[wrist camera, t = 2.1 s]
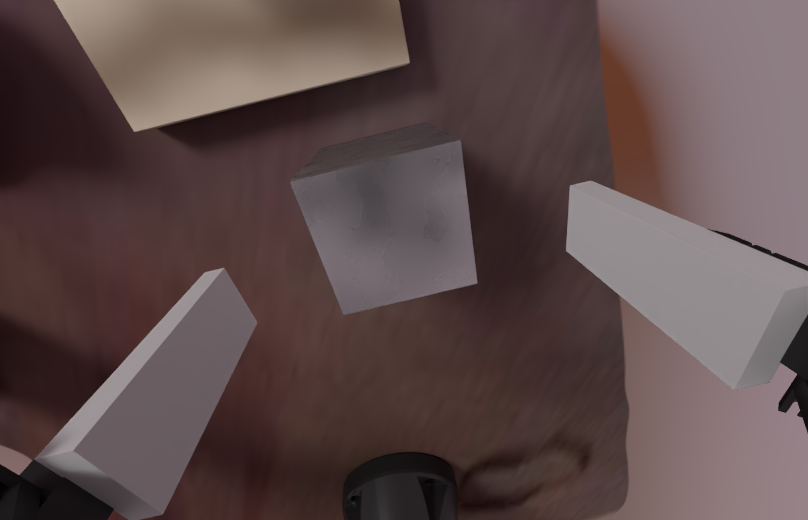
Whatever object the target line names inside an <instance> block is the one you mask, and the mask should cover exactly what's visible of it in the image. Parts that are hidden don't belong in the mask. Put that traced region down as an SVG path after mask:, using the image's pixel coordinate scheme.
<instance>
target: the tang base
mask: <svg viewBox="0 0 808 520" xmlns="http://www.w3.org/2000/svg"><path fill="white" fill-rule="evenodd" d="M54 1H55V3H56V4H57V6H58V8H59V9H60V11H61V12H62V14H63V16H64V17H65V19H66V21H67V22H68V24H69V26H70V27H71V29H72V31H73V32H74V34H75V35H76V37H77V39H78V40H79V42H80V44H81V45H82V47H83V49H84V50H85V52H86V54H87V55H88V57H89V58H90V60H91V62H92V63H93V65H94V67H95V68H96V70H97V72H98V73H99V75H100V77H101V78H102V80H103V82H104V83H105V85H106V86H107V88H108V90H109V91H110V93H111V95H112V96H113V98H114V100H115V101H116V103H117V105H118V106H119V108H120V109H121V111H122V113H123V114H124V116H125V118H126V119H127V121H128V123H129V124H130V126H131V128H132V129H133V131H134V132H137V131H143V130H150V129H156V128H160V127H164V126H168V125H172V124H176V123H180V122H184V121H188V120H192V119H196V118H200V117H204V116H208V115H212V114H216V113H220V112H224V111H228V110H232V109H236V108H240V107H244V106H248V105H252V104H256V103H260V102H264V101H268V100H272V99H276V98H279V97H283V96H287V95H291V94H295V93H299V92H303V91H307V90H311V89H315V88H319V87H323V86H327V85H331V84H335V83H339V82H343V81H347V80H351V79H355V78H359V77H363V76H367V75H371V74H375V73H379V72H383V71H387V70H391V69H395V68H399V67H403V66H406V65H407V64H409V63H410V61H409V55H408V50H407V44H406V38H405V32H404V27H403V21H402V15H401V10H400V4H399V0H54Z"/></svg>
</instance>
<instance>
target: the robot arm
mask: <svg viewBox="0 0 808 520" xmlns="http://www.w3.org/2000/svg"><path fill="white" fill-rule="evenodd" d="M566 251H567V252H568V253H569V254H571V255H572V256H573V257H574V258H575V259H577V260H578V261H579V262H580V263H581V264H583V265H584V266H585V267H586V268H587V269H589V270H590V271H591V272H592V273H593V274H595V275H596V276H597V277H598V278H599V279H601V280H602V281H603V282H604V283H605V284H607V285H608V286H609V287H610V288H611V289H613V290H614V291H615V292H616V293H617V294H619V295H620V296H621V297H622V298H624V299H625V300H626V301H627V302H628V303H630V304H631V305H632V306H633V307H634V308H636V309H637V310H638V311H639V312H640V313H642V314H643V315H644V316H645V317H646V318H648V319H649V320H650V321H651V322H652V323H654V324H655V325H656V326H657V327H658V328H660V329H661V330H662V331H663V332H664V333H666V334H667V335H668V336H669V337H671V338H672V339H673V340H674V341H675V342H676V343H678V344H679V345H680V346H681V347H682V348H684V349H685V350H686V351H687V352H688V353H690V354H691V355H692V356H693V357H694V358H696V359H697V360H698V361H699V362H700V363H702V364H703V365H704V366H705V367H706V368H708V369H709V370H710V371H711V372H712V373H714V374H715V375H716V376H717V377H719V378H720V379H721V380H722V381H723V382H724V383H726V384H727V385H728V386H729V387H731V388H732V389H733V390H738V389H743V388H747V387H751V386H756V385H761V384H765V383H769V382H770V380H771V379H772V377H773V375H774V374H775V372H776V370H777V368H778V367H779V365H780V363H782V364H784V365H785V366H787V367H788V368H789V369H791V370H792V371H794V372H795V373H797V376H796V377H795V379H794V381H793V382H792V383H791V385H790V387H789V388H788V390H787V391H786V393H785V394H784V396H783V397H782V399H781V400H780V402H779V407H778V411H781V412H785V413H786V412H787V411H788V409H789V408H790V406H791V405H792V403H793V402H798V405H799V408H800V412H799V413H798V416H799V417H802V418H803V420H804V423H805V426H806V429H807V432H808V266H807V265H805V264H802V263H800V262H797V261H795V260H792V259H790V258H787V257H785V256H782V255H780V254H777V253H773V254H772V253H771V251H770V250H767V249H765V248H763V247H760V246H758V245H753V246H752V243H750V242H748V241H745V240H743V239H740V238H738V237H735V236H733V235H730V234H727V233H723V232H719V231H714V230H710V229H705V228H702V227H701V226H698V225H696V224H693V223H691V222H689V221H686V220H684V219H681V218H679V217H676V216H674V215H672V214H669V213H667V212H665V211H662V210H660V209H657V208H655V207H653V206H650V205H648V204H645V203H643V202H641V201H638V200H636V199H634V198H631V197H628V196H626V195H624V194H622V193H619V192H617V191H614V190H612V189H610V188H607V187H605V186H602V185H600V184H598V183H595V182H593V181H587V182H583V183H579V184H575V185H571V186H570V194H569V210H568V227H567V243H566ZM256 324H257V321H256V319H255V318H254V316H253V315H252V313H251V311H250V310H249V308H248V306H247V305H246V303H245V301H244V300H243V298H242V296H241V295H240V293H239V291H238V290H237V288H236V287H235V285H234V283H233V282H232V280H231V278H230V277H229V275H228V273H227V272H226V270H225V268H222V269H218V270H213V271H209V272H205V273H204V274H203V275H202V276H201V277H200V278H199V279H198V280H197V282H196V283H195V284H194V285H193V286H192V287H191V288H190V289H189V290H188V291H187V293H186V294H185V295H184V296H183V297H182V298H181V299H180V300H179V301H178V302H177V303H176V305H175V306H174V307H173V308H172V309H171V310H170V311H169V312H168V313H167V314H166V316H165V317H164V318H163V319H162V320H161V321H160V322H159V323H158V324H157V325H156V326H155V328H154V329H153V330H152V331H151V332H150V333H149V334H148V335H147V336H146V337H145V339H144V340H143V341H142V342H141V343H140V344H139V345H138V346H137V347H136V348H135V349H134V351H133V352H132V353H131V354H130V355H129V356H128V357H127V358H126V359H125V360H124V362H123V363H122V364H121V365H120V366H119V367H118V368H117V369H116V370H115V371H114V372H113V374H112V375H111V376H110V377H109V378H108V379H107V380H106V381H105V382H104V383H103V384H102V385H101V387H100V388H99V389H98V390H97V391H96V392H95V393H94V394H93V395H92V397H91V398H90V399H89V400H88V401H87V402H86V403H85V404H84V405H83V406H82V407H81V408H80V410H79V411H78V412H77V413H76V414H75V415H74V416H73V417H72V418H71V419H70V421H69V422H68V423H67V424H66V425H65V426H64V427H63V428H62V429H61V430H60V431H59V433H58V434H57V435H56V436H55V437H54V438H53V439H52V440H51V441H50V442H49V443H48V445H47V446H46V447H45V448H44V449H43V450H42V451H41V452H40V453H39V454H38V456H37V457H36V458H35V459H34V460H33V461H32V462H31V463H30V464H29V466H27V468H26V469H25V470H24V471H23V472H22V473H21V474H20V475H17V474H16V473H14V472H12V471H11V470H9V469H7V468H6V467H4V466H2V465H0V520H107V519H108V518H109V516H110V515H111V513H112V511H113V510H114V511H116V512H117V513H119V514H121V515H122V516H124V517H125V518H127V519H128V520H140V519H144V518H149V517H153V516H158V515H163V513H164V511H165V509H166V507H167V505H168V503H169V501H170V499H171V497H172V495H173V493H174V491H175V489H176V487H177V485H178V483H179V481H180V479H181V477H182V475H183V473H184V471H185V469H186V466H187V464H188V462H189V460H190V458H191V456H192V454H193V452H194V450H195V448H196V446H197V444H198V442H199V440H200V438H201V436H202V434H203V432H204V430H205V428H206V426H207V424H208V422H209V420H210V418H211V416H212V414H213V412H214V410H215V408H216V405H217V403H218V401H219V399H220V397H221V395H222V393H223V391H224V389H225V387H226V385H227V383H228V381H229V379H230V377H231V375H232V373H233V371H234V369H235V367H236V365H237V363H238V361H239V359H240V357H241V355H242V353H243V351H244V349H245V347H246V344H247V342H248V340H249V338H250V336H251V334H252V332H253V330H254V328H255V326H256ZM342 507H343V515H344V519H345V520H457V509H458V489H457V485H456V480H455V475H454V472H453V470H452V468H451V467H450V466H449V465H448V464H447V463H446V462H444V461H443V460H441V459H439V458H436V457H433V456H430V455H425V454H418V453H402V454H393V455H388V456H384V457H380V458H377V459H374V460H372V461H369V462H367V463H365V464H363V465H361V466H360V467H358V468H357V469H355V470H354V471H353V472H352V473H351V474H350V475H349V476H348V478H347V479H346V481H345V483H344V488H343V503H342Z"/></svg>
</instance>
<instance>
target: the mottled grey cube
mask: <svg viewBox="0 0 808 520" xmlns="http://www.w3.org/2000/svg"><path fill="white" fill-rule="evenodd" d="M290 183H291V186H292V188H293V191H294V193H295V196H296V198H297V201H298V203H299V206H300V208H301V211H302V213H303V216H304V218H305V221H306V223H307V225H308V228H309V230H310V233H311V235H312V238H313V240H314V243H315V245H316V248H317V250H318V253H319V255H320V258H321V260H322V263H323V265H324V268H325V270H326V272H327V275H328V277H329V280H330V282H331V285H332V287H333V290H334V292H335V295H336V297H337V300H338V302H339V305H340V307H341V310H342V312H343V315H346V314H350V313H355V312H359V311H363V310H367V309H372V308H376V307H380V306H384V305H388V304H393V303H397V302H401V301H405V300H410V299H414V298H418V297H422V296H426V295H431V294H435V293H439V292H443V291H448V290H452V289H456V288H460V287H464V286H469V285H473V284H477V275H476V267H475V258H474V250H473V241H472V233H471V224H470V216H469V207H468V199H467V190H466V182H465V173H464V165H463V157H462V148H461V140H460V139H458V138H456V137H454V136H452V135H450V134H448V133H446V132H444V131H442V130H440V129H438V128H436V127H434V126H431V125H429V124H427V123H422V124H418V125H414V126H410V127H406V128H402V129H398V130H393V131H389V132H385V133H381V134H377V135H373V136H369V137H365V138H361V139H357V140H353V141H349V142H345V143H341V144H337V145H333V146H329V147H325V148H321V149H320V150H319V151H318V152H317V153H316V154H315V155H314V156H313V158H312V159H311V160H310V161H309V162H308V163H307V164H306V165H305V166H304V167H303V168H302V169H301V170H300V171H299V172H298V174H297V175H296V176H295V177H294V178H293V179H292V180H291V181H290Z"/></svg>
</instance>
